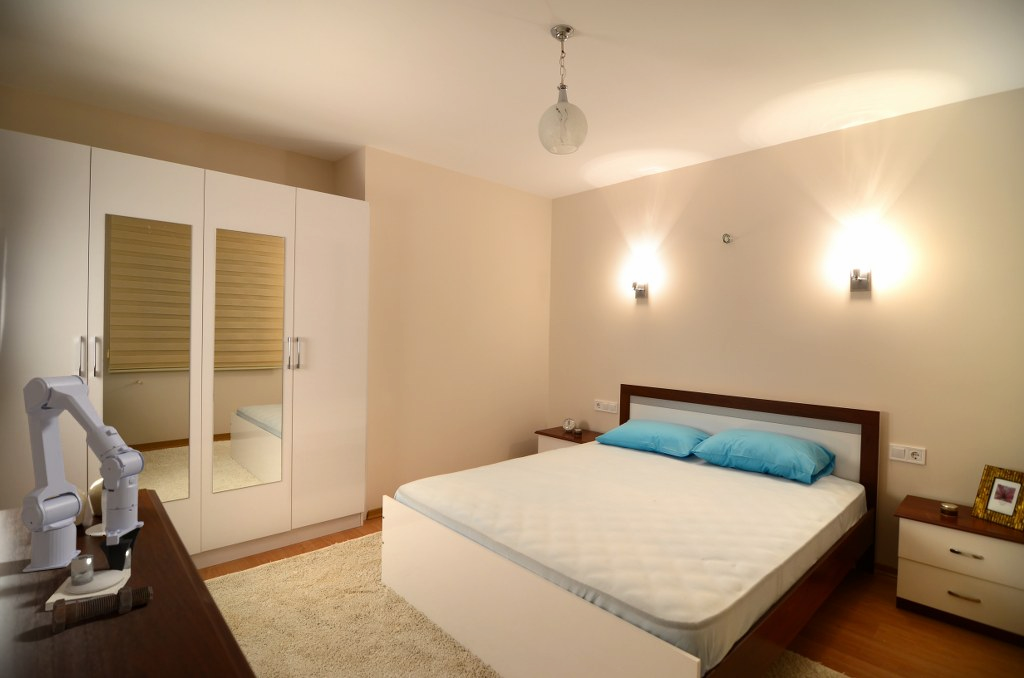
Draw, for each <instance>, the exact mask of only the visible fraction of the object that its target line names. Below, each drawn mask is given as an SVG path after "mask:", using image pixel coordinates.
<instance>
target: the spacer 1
mask: <svg viewBox="0 0 1024 678" xmlns="http://www.w3.org/2000/svg"><path fill="white" fill-rule="evenodd" d="M94 557H95V556H94V554H82V555H77V556H76V557H75V558H73V559H72V560H71V563H70V567H71V568H70V577H71V585H72V586H80V585H85V584H88V583H90V582H92V581H93V572H94V568H95V567H94V564H95V563H94V560H95V558H94Z"/></svg>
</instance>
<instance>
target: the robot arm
mask: <svg viewBox="0 0 1024 678" xmlns="http://www.w3.org/2000/svg"><path fill="white" fill-rule="evenodd" d="M22 392H23V393H22V394H23V400H24V401H23V402H24V410H25V413H26V415H27V423H28V432H29V440H30V449H31V458H32V460H31V461H32V466H33V467H32V468H33V474H34V475H33V477H34V484H35V487H34V488H33V489H31V491H30V492H29V493H28V494H26V495H25V496H24V497H23V499H22V505H23V506H22V510H21V514H20V520H21V523H22V525H23V526H24V527H25V528H26V529H27V530H28V531H31V533H30V534H31V539H30V541H31V542H30V543H31V548H30V563H29V564H28V565H27V566H26V567H25V568H23V569H22V572H23V573H28V572H36V571H44V570H51V569H52V570H53V569H60V568H61V569H62V568H66V567H68V566H70V565H71V560H72V559H73V558H75V557H77V556H79V554H80V553H81V552H82V551H81V550H80V549H77V527H76V524H75V522H76V520H77V519H76V517H78V516H79V515H80V514H81V512H82V509H83V500H82V499H81V497H80V495H79V492H78V486H76V485H74V484H72V483H70V482H68V481H67V479H66V471H65V464H64V455H63V445H62V439H61V430H60V421H59V416H60V415H61V414H62V413H63V412H64V411H68V413H69V414H70V415H71V416H72V418H73V419H74V420H76V422H77V423H78V424H79V425H80V426H81V428H82V429H83V430H84V431H85V433H87V436H86V438H85V442H86V444H87V445H88V447H89V448H90V450H91V451H92V453H93V454H94V455H95V457H96V458H97V459H98V461H99V462H100V464H101V467H99V470H98V471H99V475H100V476H101V478H102V481H103V480H104V486H105V488H107V499H106V527H105V532H106V535H105V536H106V540H101V542H100V543H99V548H100V550H101V551H102V552H103V554H104V555H105V557H106V560H107V563H108V564H107V565H108V567H109V570H119V571H123V569H124V565H125V560H126V554H127V551H128V548H129V547H130V548H131V558H132V557H133V553H134V549H135V546H136V541H137V539H138V536H139V533H140V532H141V529H142V528H143V526H144V525H145V524H144V521H138V508H139V507H138V505H139V504H138V501H139V499H138V498H139V492H138V491H139V488H138V487H139V486H138V485H139V475H140V474H141V473H143V470H144V469H145V466H146V465H145V464H146V463H145V462H146V461H145V458H144V456H143V454H142V452H140V451H139V450H137V449H133V448H132V447H130V446H128V445H127V443H125V441H124V439H122V436H120V434H119V433H118V431H117V429H116V428H115V427H113V426H111V425H105V424H104V422H103V420H102V418H101V416H100V415H99V413H98V411H97V410H96V408H95V406H94V405H93V403H92V401H91V400H90V398H89V395H90V386H89V385H88V384H87V382H86V380H85V379H84V377H82V376H80V375H78V374H73V375H66V376H65V375H64V376H48V377H47V376H46V377H40V376H39V377H38V376H37V377H33V378H31V379H30V380H29V381H28V382H27V384H26V385H25V386H24V387H23V389H22Z"/></svg>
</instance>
